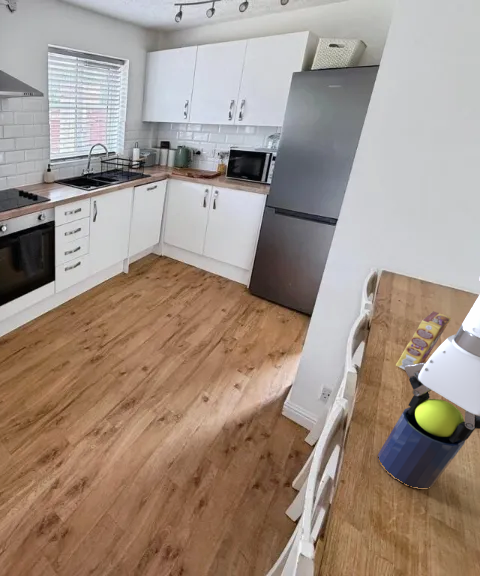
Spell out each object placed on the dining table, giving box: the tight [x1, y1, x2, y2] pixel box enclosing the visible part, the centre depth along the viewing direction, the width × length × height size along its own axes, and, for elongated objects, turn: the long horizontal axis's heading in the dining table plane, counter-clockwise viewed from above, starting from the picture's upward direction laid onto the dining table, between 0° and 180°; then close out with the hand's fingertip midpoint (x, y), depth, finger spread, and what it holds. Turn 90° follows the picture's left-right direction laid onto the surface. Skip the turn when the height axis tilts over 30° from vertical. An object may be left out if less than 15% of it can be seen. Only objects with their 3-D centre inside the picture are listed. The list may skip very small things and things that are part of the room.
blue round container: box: [377, 406, 466, 488], centre depth 69 cm, size 9×9×12 cm
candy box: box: [395, 311, 452, 371], centre depth 98 cm, size 9×4×15 cm, turn 125°
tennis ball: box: [415, 398, 465, 437], centre depth 65 cm, size 6×6×6 cm
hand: (434, 424), depth 66 cm, fingers closed on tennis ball, 5 cm apart
